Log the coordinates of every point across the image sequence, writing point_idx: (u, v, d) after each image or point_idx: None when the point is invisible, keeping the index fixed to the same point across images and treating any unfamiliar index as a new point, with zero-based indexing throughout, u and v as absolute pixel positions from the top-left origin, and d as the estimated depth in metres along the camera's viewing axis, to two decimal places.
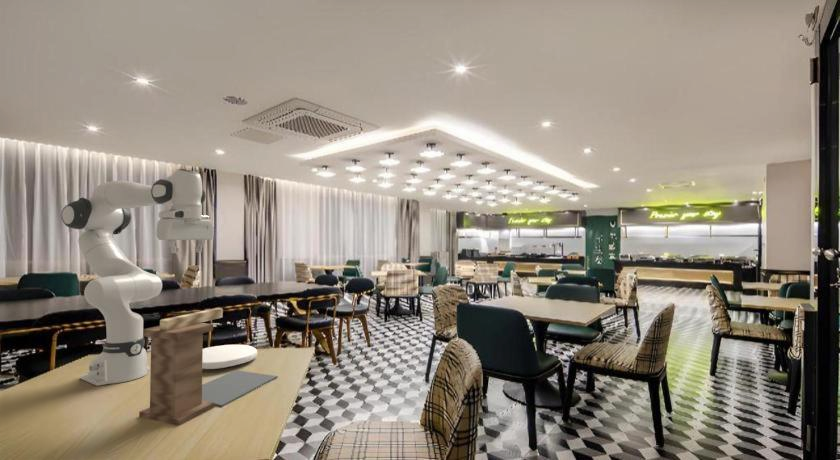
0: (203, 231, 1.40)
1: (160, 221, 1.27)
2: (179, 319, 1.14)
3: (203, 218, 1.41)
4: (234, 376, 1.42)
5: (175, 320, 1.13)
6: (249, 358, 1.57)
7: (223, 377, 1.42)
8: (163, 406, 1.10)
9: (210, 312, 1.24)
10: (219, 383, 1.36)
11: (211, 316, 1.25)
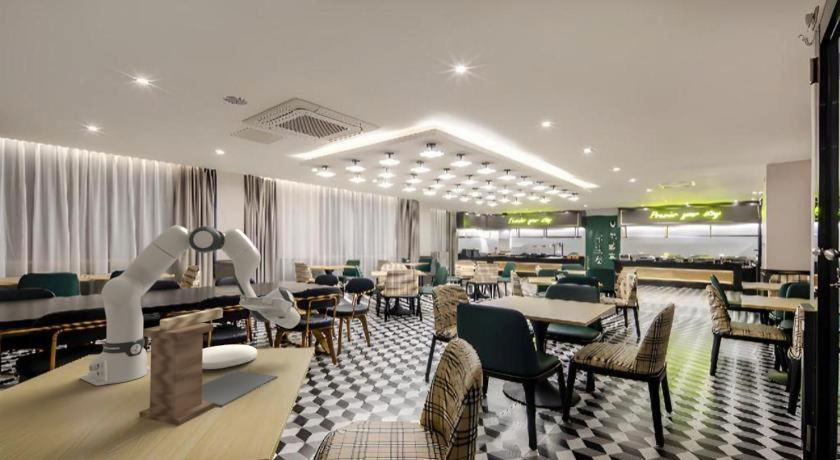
0: (251, 307, 1.51)
1: (288, 305, 1.50)
2: (179, 319, 1.14)
3: None
4: (234, 376, 1.42)
5: (175, 320, 1.13)
6: (249, 358, 1.57)
7: (223, 377, 1.42)
8: (163, 406, 1.10)
9: (210, 312, 1.24)
10: (219, 383, 1.36)
11: (211, 316, 1.25)
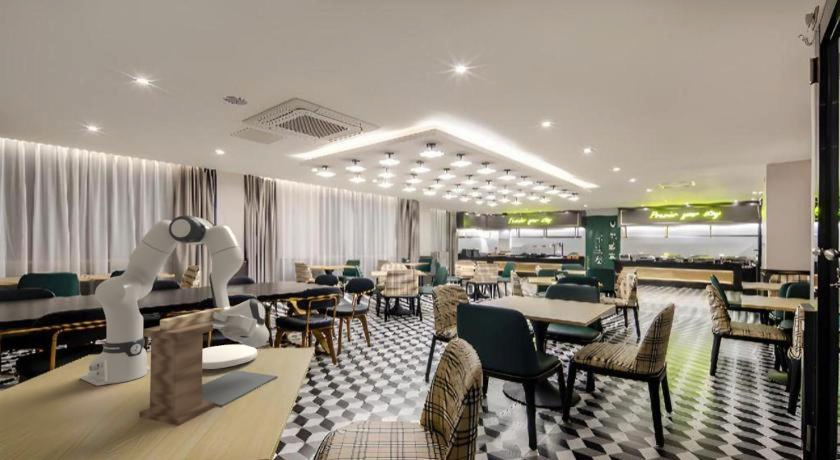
0: None
1: (251, 323, 1.32)
2: (179, 319, 1.14)
3: None
4: (234, 376, 1.42)
5: (175, 320, 1.13)
6: (249, 358, 1.57)
7: (223, 377, 1.42)
8: (163, 406, 1.10)
9: (210, 312, 1.24)
10: (219, 383, 1.36)
11: None
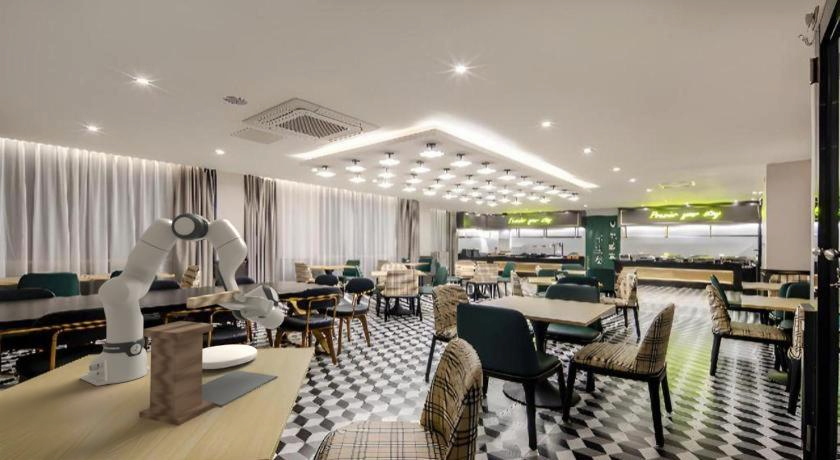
0: (229, 306, 1.41)
1: (269, 304, 1.40)
2: (204, 298, 1.22)
3: None
4: (234, 376, 1.42)
5: (200, 299, 1.21)
6: (249, 358, 1.57)
7: (223, 377, 1.42)
8: (163, 406, 1.10)
9: (231, 293, 1.33)
10: (219, 383, 1.36)
11: None
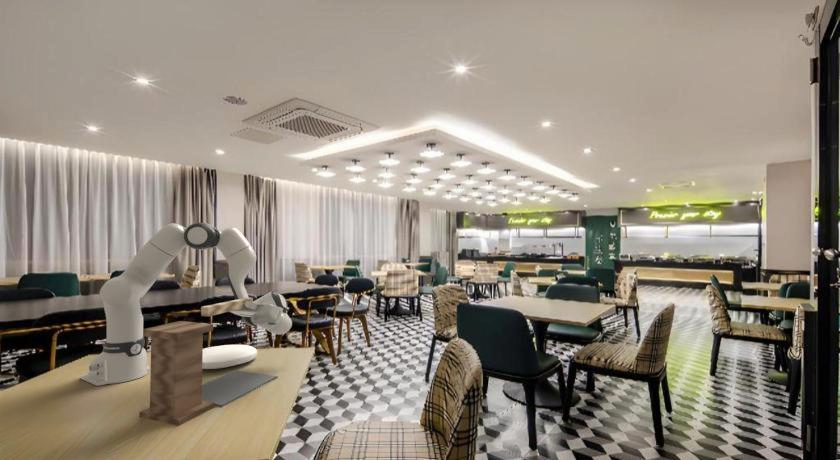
0: (240, 313, 1.45)
1: (278, 311, 1.45)
2: (217, 306, 1.27)
3: None
4: (234, 376, 1.42)
5: (214, 307, 1.26)
6: (249, 358, 1.57)
7: (223, 377, 1.42)
8: (163, 406, 1.10)
9: (242, 301, 1.38)
10: (219, 383, 1.36)
11: None
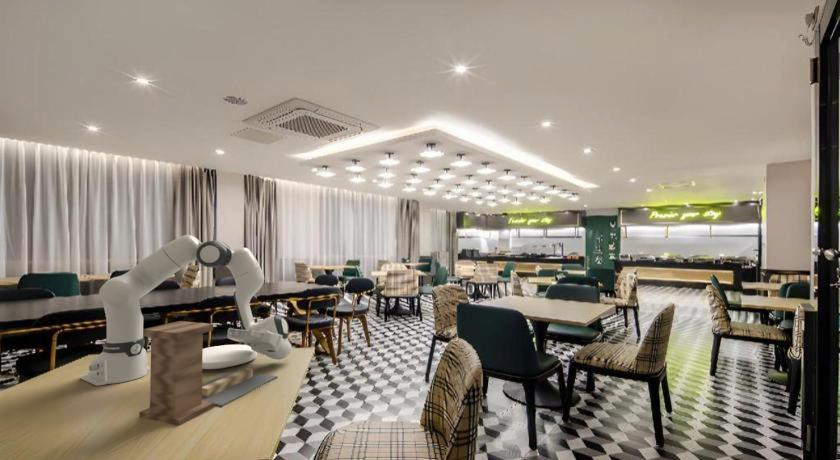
0: (239, 340, 1.45)
1: (278, 338, 1.45)
2: (217, 385, 1.27)
3: None
4: None
5: (213, 387, 1.26)
6: (249, 358, 1.57)
7: (223, 377, 1.42)
8: (163, 406, 1.10)
9: (242, 374, 1.38)
10: None
11: (243, 378, 1.38)
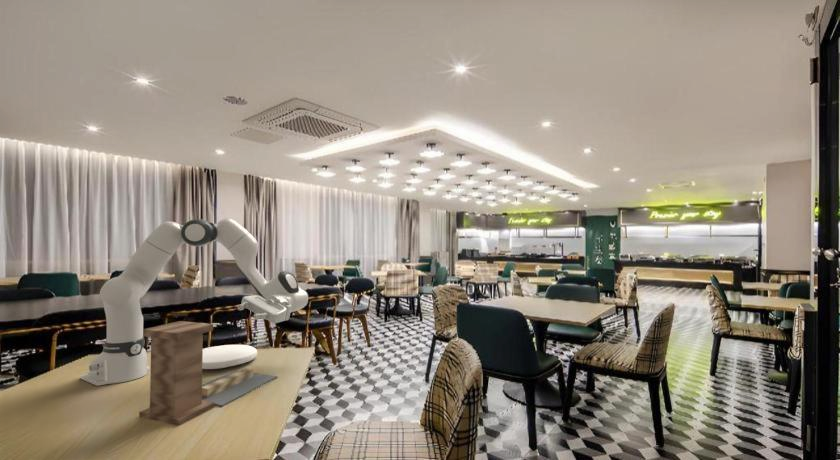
0: None
1: (285, 312, 1.49)
2: (217, 385, 1.27)
3: None
4: None
5: (213, 387, 1.26)
6: (249, 358, 1.57)
7: (223, 377, 1.42)
8: (163, 406, 1.10)
9: (242, 374, 1.38)
10: None
11: (243, 378, 1.38)
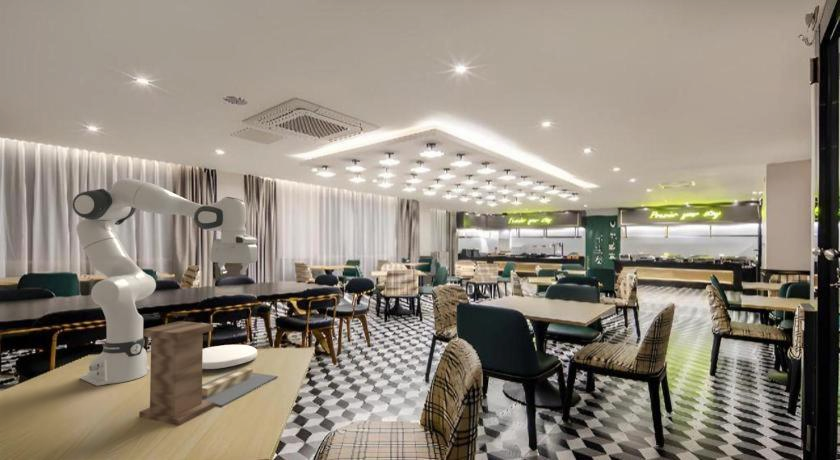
0: None
1: (250, 246, 1.42)
2: (217, 385, 1.27)
3: None
4: None
5: (213, 387, 1.26)
6: (249, 358, 1.57)
7: (223, 377, 1.42)
8: (163, 406, 1.10)
9: (242, 374, 1.38)
10: None
11: (243, 378, 1.38)
